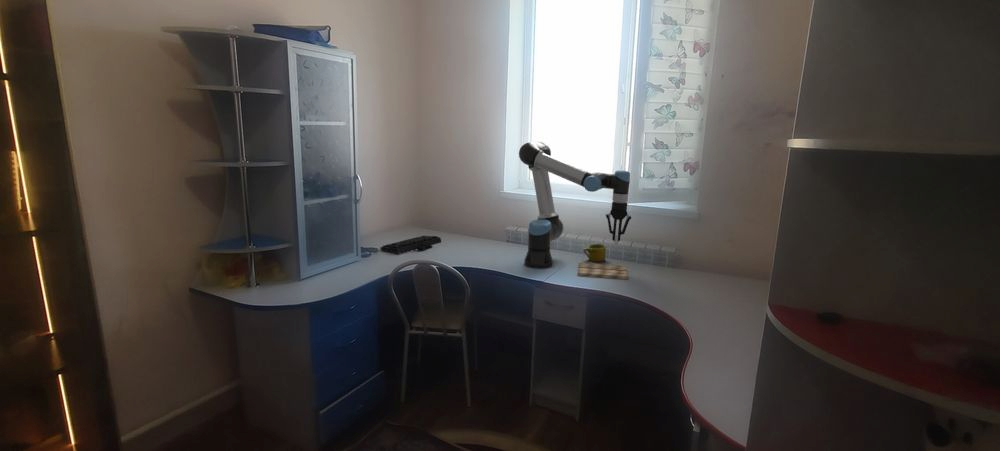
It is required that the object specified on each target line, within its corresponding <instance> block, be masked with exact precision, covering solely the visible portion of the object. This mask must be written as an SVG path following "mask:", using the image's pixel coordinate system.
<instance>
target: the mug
mask: <svg viewBox="0 0 1000 451" xmlns="http://www.w3.org/2000/svg"><path fill="white" fill-rule="evenodd" d="M582 252H583V253H584V254H585V255H586V257H587V258H588V260H589V261H592V262H598V263H602V262H604V261H605V260H606V245H605V244H603V243H602V244H601V243H600V244H599V243H595V244H594V243H593V244H590V245H589V246H588V247H584V248H583V250H582Z"/></svg>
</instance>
